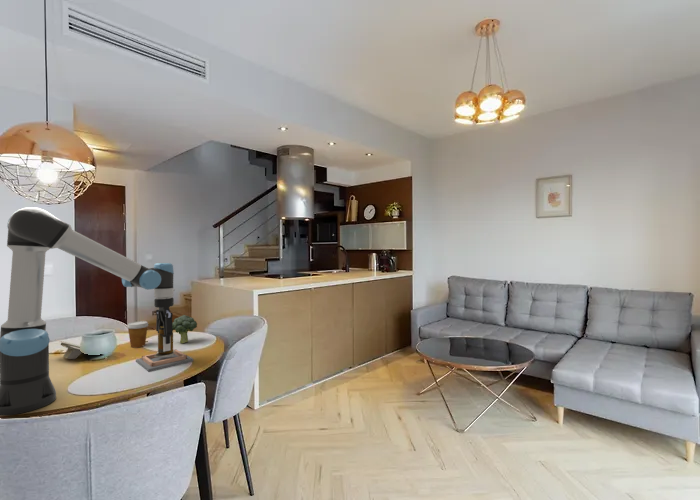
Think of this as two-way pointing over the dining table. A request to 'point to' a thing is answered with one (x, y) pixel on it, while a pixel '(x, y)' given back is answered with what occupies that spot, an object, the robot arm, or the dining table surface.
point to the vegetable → (184, 326)
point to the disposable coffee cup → (137, 333)
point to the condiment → (160, 344)
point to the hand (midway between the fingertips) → (164, 349)
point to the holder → (163, 361)
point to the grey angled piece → (71, 350)
